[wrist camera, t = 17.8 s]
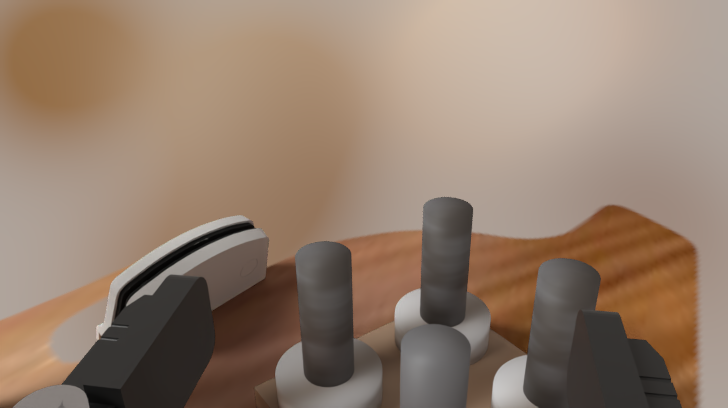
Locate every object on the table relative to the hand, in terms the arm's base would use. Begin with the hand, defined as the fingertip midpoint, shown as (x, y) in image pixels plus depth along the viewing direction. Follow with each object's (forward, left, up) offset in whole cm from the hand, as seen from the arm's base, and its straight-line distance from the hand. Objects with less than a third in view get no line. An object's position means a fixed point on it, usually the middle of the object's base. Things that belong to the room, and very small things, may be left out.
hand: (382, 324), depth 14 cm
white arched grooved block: (-41, +8, -28) cm, 50 cm away
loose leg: (-10, +11, -25) cm, 29 cm away
